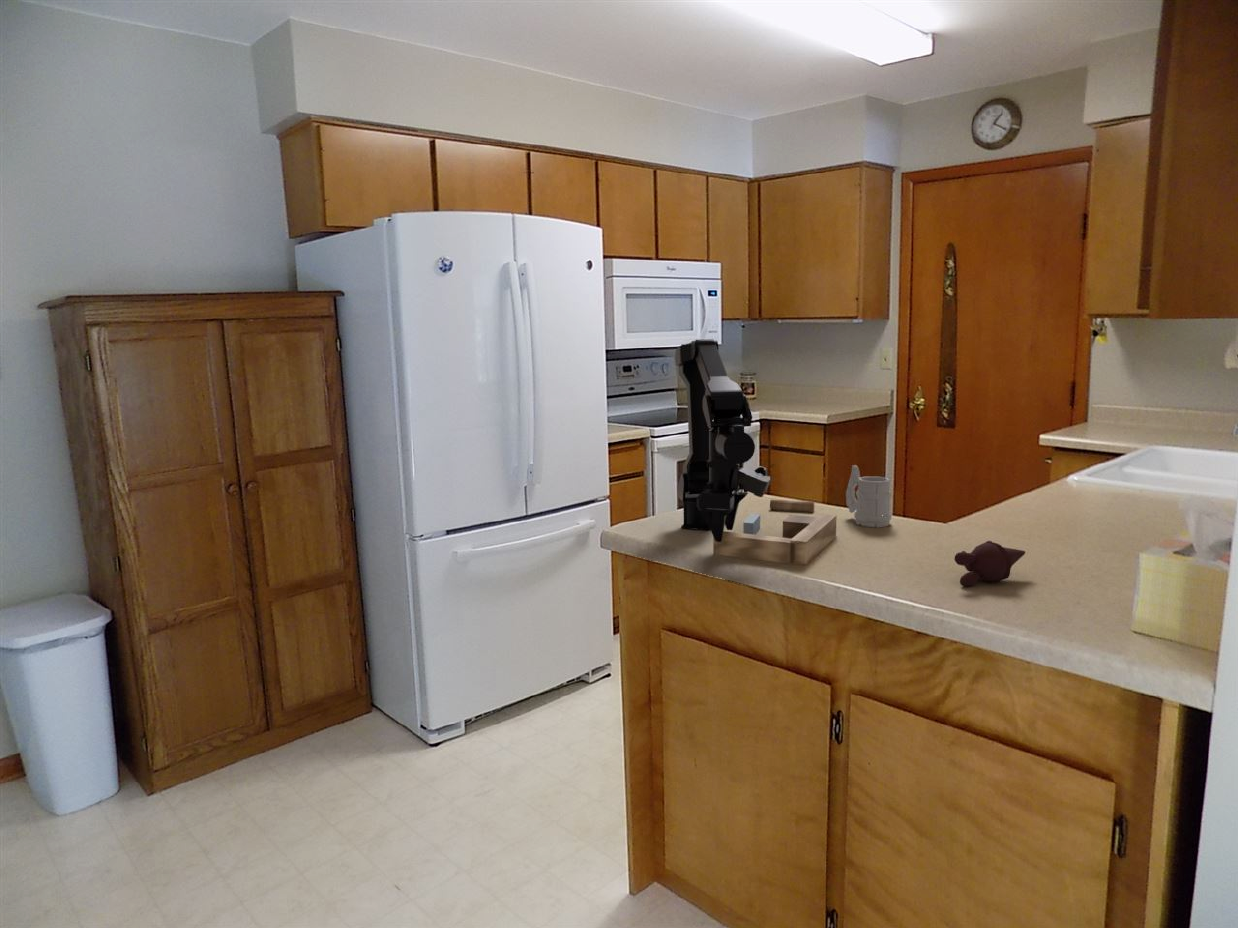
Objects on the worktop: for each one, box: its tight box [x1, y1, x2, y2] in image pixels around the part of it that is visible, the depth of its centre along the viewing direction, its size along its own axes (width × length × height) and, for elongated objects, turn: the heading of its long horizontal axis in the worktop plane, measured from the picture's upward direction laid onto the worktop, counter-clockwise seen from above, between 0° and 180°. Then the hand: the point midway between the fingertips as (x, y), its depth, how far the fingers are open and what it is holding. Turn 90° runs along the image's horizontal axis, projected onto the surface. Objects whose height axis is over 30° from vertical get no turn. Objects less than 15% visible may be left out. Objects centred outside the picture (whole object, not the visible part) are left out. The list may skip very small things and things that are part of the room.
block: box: [782, 514, 819, 539], centre depth 166 cm, size 6×6×4 cm
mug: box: [845, 464, 892, 528], centre depth 177 cm, size 8×12×12 cm, turn 27°
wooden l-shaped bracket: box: [712, 513, 837, 566], centre depth 161 cm, size 18×22×4 cm
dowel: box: [769, 499, 816, 513], centre depth 190 cm, size 10×2×2 cm
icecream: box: [954, 540, 1026, 587], centre depth 136 cm, size 7×7×15 cm
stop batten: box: [742, 513, 761, 535], centre depth 171 cm, size 2×8×3 cm, turn 160°
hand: (724, 535), depth 155 cm, fingers open, 9 cm apart
